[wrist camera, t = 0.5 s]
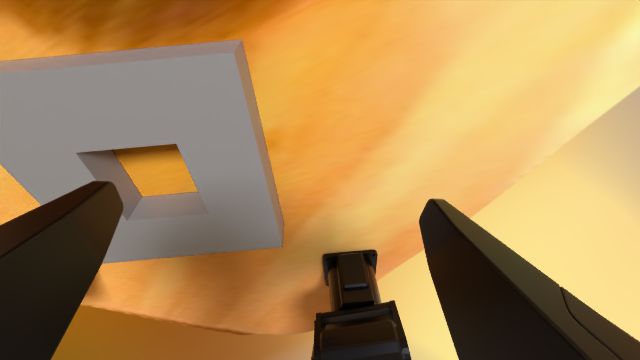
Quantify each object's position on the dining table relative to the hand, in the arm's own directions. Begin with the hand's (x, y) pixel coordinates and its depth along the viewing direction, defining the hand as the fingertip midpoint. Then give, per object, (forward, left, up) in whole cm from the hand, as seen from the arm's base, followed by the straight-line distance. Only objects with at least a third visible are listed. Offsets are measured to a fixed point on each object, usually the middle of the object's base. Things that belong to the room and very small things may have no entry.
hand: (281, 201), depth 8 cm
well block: (-7, +12, -14) cm, 20 cm away
